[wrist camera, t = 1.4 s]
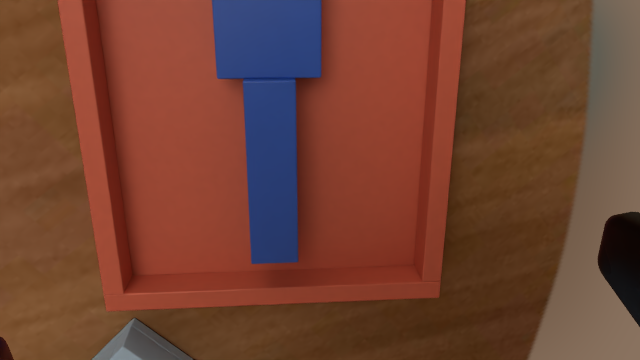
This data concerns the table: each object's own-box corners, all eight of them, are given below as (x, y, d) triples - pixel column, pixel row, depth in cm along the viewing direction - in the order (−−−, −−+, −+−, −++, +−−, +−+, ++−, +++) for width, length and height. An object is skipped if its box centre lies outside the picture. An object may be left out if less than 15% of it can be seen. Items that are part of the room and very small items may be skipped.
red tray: (426, 272, 25) (439, 298, 23) (119, 284, 24) (105, 312, 22) (457, -114, 20) (477, -124, 18) (61, -119, 19) (36, -130, 17)
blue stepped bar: (317, 236, 23) (321, 262, 21) (231, 239, 23) (227, 265, 21) (317, -45, 19) (322, -47, 17) (214, -46, 19) (207, -48, 17)
